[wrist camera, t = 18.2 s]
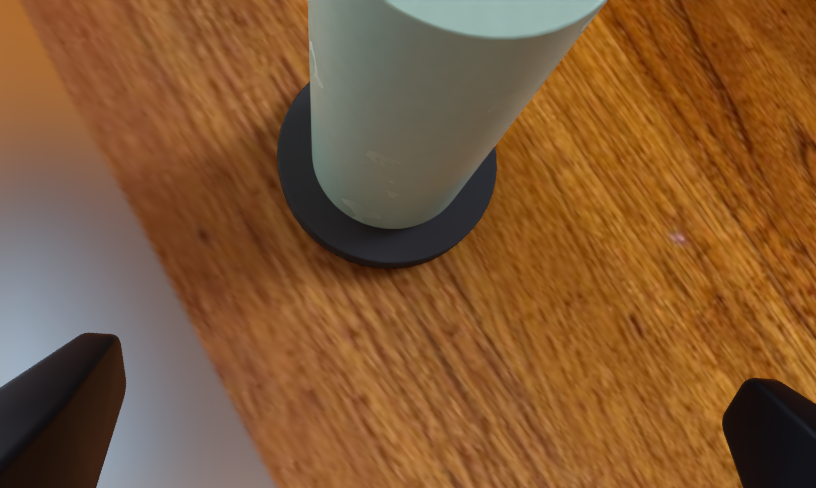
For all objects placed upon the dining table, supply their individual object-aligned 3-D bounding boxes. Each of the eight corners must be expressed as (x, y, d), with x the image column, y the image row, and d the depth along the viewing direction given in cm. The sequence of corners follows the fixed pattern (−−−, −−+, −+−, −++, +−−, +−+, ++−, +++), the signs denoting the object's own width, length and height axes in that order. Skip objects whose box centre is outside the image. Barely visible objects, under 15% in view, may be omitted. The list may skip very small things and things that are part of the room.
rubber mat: (395, 314, 21) (398, 311, 20) (232, 164, 21) (228, 154, 20) (529, 164, 23) (539, 155, 22) (379, 29, 23) (382, 14, 22)
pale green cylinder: (478, 219, 21) (677, 27, 9) (323, 239, 20) (330, 50, 8) (451, 77, 22) (599, -252, 10) (302, 89, 21) (283, -260, 9)
